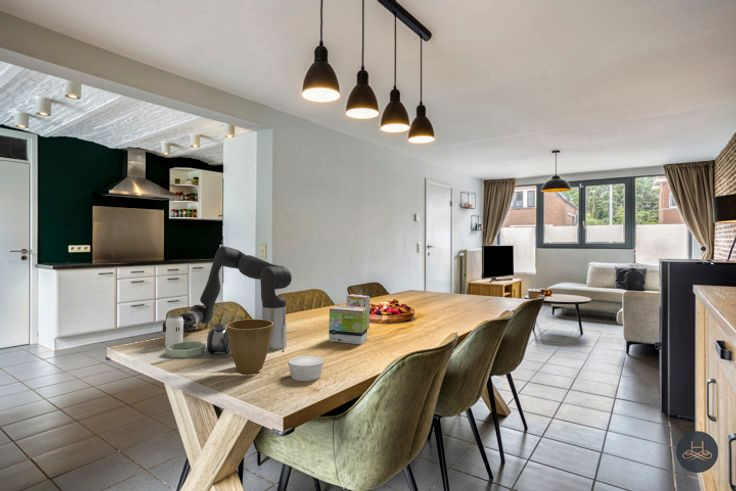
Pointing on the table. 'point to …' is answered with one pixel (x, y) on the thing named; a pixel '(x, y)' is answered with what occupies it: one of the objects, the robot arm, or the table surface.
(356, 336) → the tea box
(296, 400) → the table surface
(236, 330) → the plant pot
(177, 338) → the can
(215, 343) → the cylinder
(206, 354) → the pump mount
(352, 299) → the candy bar box
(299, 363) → the ramekin
